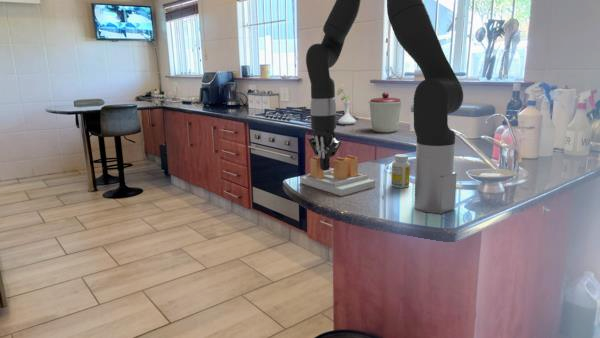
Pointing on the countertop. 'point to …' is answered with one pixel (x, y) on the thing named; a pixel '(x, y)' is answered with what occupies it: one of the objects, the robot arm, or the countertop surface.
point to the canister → (385, 113)
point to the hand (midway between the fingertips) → (324, 169)
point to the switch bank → (339, 183)
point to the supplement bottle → (400, 171)
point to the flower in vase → (346, 117)
